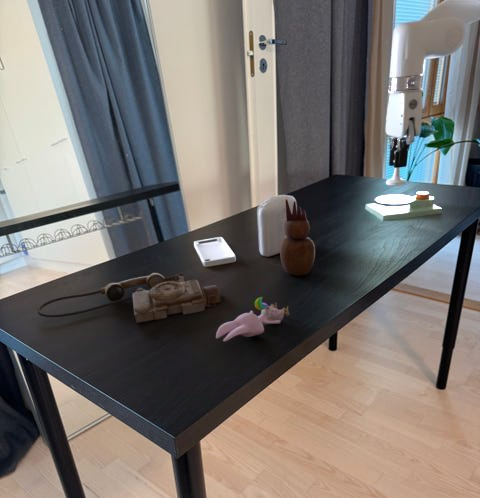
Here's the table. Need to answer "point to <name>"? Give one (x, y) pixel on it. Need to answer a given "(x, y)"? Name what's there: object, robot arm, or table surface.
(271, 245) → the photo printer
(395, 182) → the chess piece
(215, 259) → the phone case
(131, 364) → the table surface
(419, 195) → the tare button
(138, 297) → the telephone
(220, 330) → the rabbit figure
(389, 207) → the scale
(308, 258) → the wooden figurine
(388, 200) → the pan
